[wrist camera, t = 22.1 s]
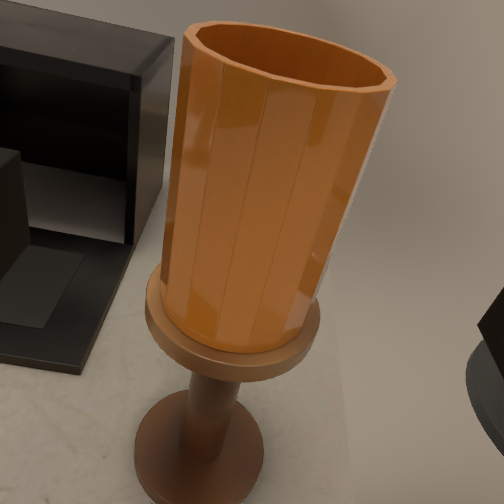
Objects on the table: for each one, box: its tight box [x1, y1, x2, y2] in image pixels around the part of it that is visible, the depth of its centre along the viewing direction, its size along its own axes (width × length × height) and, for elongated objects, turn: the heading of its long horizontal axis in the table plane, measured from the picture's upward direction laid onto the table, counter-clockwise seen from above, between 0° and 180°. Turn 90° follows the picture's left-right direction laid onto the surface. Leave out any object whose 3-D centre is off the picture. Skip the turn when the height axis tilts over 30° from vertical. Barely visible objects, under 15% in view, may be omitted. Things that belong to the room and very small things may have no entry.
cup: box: [160, 21, 398, 354], centre depth 20 cm, size 8×8×12 cm
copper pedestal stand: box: [134, 263, 320, 504], centre depth 28 cm, size 9×9×15 cm
